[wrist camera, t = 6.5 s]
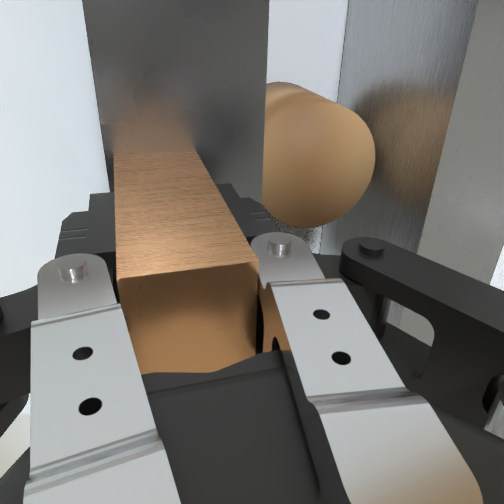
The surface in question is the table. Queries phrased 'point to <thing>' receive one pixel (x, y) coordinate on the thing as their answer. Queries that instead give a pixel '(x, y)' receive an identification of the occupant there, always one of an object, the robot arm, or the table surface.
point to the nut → (312, 157)
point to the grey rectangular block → (428, 134)
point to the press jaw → (182, 170)
